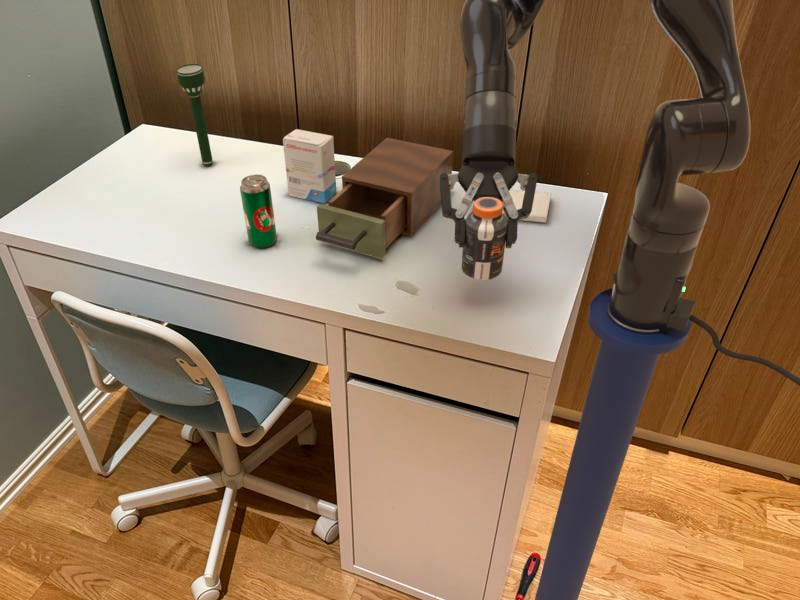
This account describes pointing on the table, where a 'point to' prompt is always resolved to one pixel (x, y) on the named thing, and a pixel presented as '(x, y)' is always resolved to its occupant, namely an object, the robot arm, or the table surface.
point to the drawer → (362, 219)
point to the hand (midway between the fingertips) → (484, 246)
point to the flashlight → (196, 105)
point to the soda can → (258, 211)
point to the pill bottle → (484, 239)
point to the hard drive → (538, 207)
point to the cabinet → (405, 176)
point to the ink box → (310, 165)
